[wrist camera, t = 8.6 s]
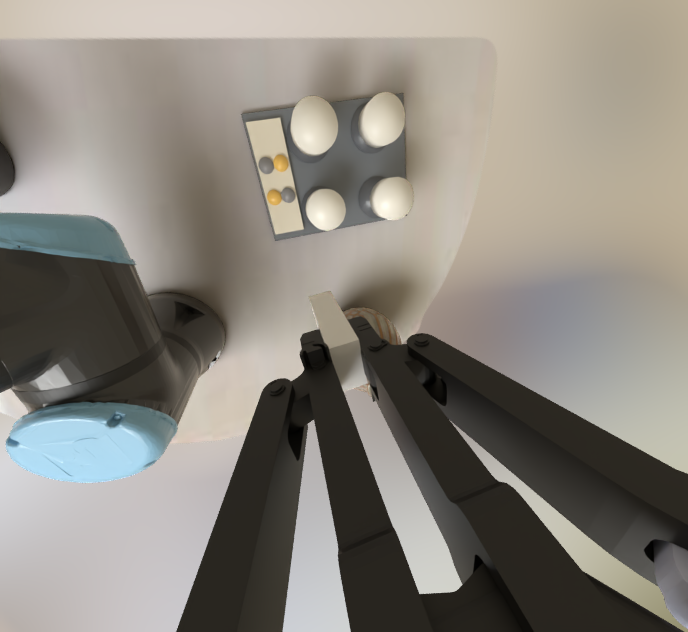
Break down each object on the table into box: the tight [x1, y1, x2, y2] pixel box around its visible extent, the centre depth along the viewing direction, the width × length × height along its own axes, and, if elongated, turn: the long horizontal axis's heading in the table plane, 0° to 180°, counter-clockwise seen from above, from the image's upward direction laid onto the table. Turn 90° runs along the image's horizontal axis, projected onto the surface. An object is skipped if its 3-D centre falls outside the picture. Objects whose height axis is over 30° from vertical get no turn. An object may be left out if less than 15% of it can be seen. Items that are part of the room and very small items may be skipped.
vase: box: [343, 307, 402, 397], centre depth 43 cm, size 13×13×18 cm
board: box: [241, 93, 407, 241], centre depth 38 cm, size 22×16×2 cm
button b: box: [291, 96, 338, 156], centre depth 31 cm, size 5×5×5 cm
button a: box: [306, 189, 346, 231], centre depth 37 cm, size 5×5×5 cm
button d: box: [358, 92, 405, 148], centre depth 34 cm, size 5×5×5 cm
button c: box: [370, 177, 414, 220], centre depth 36 cm, size 5×5×5 cm
